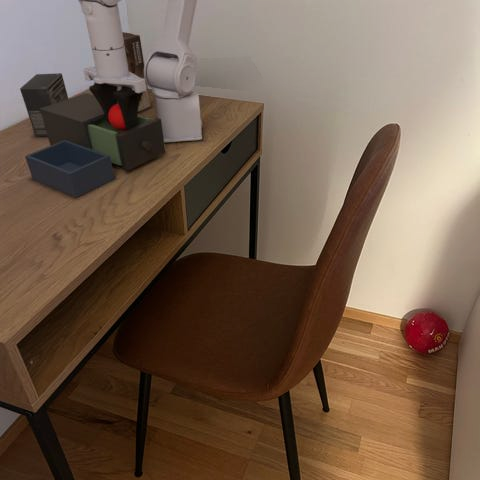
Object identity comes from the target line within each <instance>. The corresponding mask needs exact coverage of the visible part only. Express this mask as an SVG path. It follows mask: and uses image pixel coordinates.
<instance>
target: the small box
mask: <svg viewBox="0 0 480 480" xmlns="http://www.w3.org/2000/svg"><path fill="white" fill-rule="evenodd" d="M19 90H20V93H21V96H22V101H23V102H24V106H25V108H26V112H27V114H28V118H29V121H30V124H31V128H32V130H33V134H34V136H35V137H48V135H47V132H46V128H45V125H44V121H43V118H42V115H41V111H40V108H43V107H46V106H49V105H52V104H55V103H58V102H61V101H64V100H67V99H69V96H68V92H67V87H66V84H65V80H64V78H63V73H62V72H59V73H36V74H35V75H34V76H33V77H32V78H30V79H29V80H28V81H27V82H26V83H24V85H22V86H21V87H20V88H19Z"/></svg>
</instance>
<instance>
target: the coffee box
mask: <svg viewBox="0 0 480 480" xmlns="http://www.w3.org/2000/svg"><path fill="white" fill-rule="evenodd" d="M122 34H123V40H124V46H125V52H126V58H127V64H128V70H129V72H131V73H133V74H134V75H136V76H138V77H140V78H143V79H145V78H144V65H145V60H144V55H143V53H144V52H143V47H142V42H141V35H139V34H134V33H130V32H126V31H125V32H124V31H122ZM145 83H146V81H145ZM119 90H122V88H121V87H118V89H117V91H119ZM150 100H151V99H150V94H149V86H148V85H147V83H146V91H144V92H143V94H142V97H141V99H140V103H139V107H138V113H139V112H141V111H143V110H146V109H148V108H150V107H151V101H150Z"/></svg>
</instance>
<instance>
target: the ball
mask: <svg viewBox="0 0 480 480" xmlns="http://www.w3.org/2000/svg"><path fill="white" fill-rule="evenodd" d="M108 118H109V122H110V124H111V125H112V126H113V127H114V128H115V129H117V130H121V131H124V130H127V129H126V126H125V124H124V120H123V116H122V112H121V109H120V106H119V104H115V105H114V106H112V107H111V109H110V110H109V113H108Z"/></svg>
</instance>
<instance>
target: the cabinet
mask: <svg viewBox="0 0 480 480" xmlns="http://www.w3.org/2000/svg"><path fill="white" fill-rule="evenodd" d="M117 104H118V102H117ZM40 111H41V115H42V118H43V121H44V125H45V128H46V132H47V135H48V136H47V138H48V142H49V146H51V145H54V144H56V143H59V142H61V141H64V140H67V141H69V142H72V143H75V144H78V145H81V146H84V147H86V148H89V149H92V148H91V144H90V140H89V136H88V131H87V127H86V124H88V123H91V122H94V121H96V120H99V119H101V118H104V117H106V116H105V114H104V112H103V110H102V108H101V106H100V104H99V102H98V101H97V99H96V98H95V96H94V95H93V94H92V93H87V92H85V93H82V94H79V95H76V96H73V97H69V98H68V99H67V100H64V101H61V102H58V103H55V104H52V105H49V106H46V107H43V108H40Z"/></svg>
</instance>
